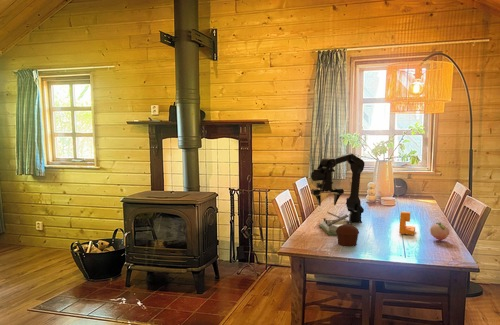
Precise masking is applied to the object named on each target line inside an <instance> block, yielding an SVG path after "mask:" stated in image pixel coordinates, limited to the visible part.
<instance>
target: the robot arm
mask: <svg viewBox="0 0 500 325" xmlns="http://www.w3.org/2000/svg"><path fill="white" fill-rule="evenodd" d="M346 162H347V163H348V164H349V166H350V168H349V169H350V171H351V172H352V174H351V184H350V195H349V197H347V198H346V199H345V200H346V202H345V206H346V208H347V212H349V214H348V216H349V217H348V221H349V222H350V223H352V224H355V223H363V221H362V214H363V213H364V211H365V209H364V207H363V206H362V204H361V202H362V201H361V199H360V197H359V195H360V194H359V193H360V182H361V174H362V172H363V170H364V168H365V161H364V160H363V159H362V158H360V157H359V156H356V154H354V153H352V152H347V153H345V154H341V155H338V156H334V157H326V158H325V157H324V158H322V159H321V161H320V162H319V165H318V167H317V168H316V169H315V168H314V169H312V170H313V171H312V172H311V174H310V178H311V180H312V181H313V182H316V188H311V189H310V194H311V195H313V196H314V197H316V201H317V204H318V206H319V207H321V205H322V204H321V202H322V200H321V199H322V196H321V194H330V193H333V205H334V206H336V205H337V202H338V200H339V198H340V197H341V196H343V195H344V193H345V189H344V188H341V187H334V189H333V184H334V181H333V173H335V172H336V170H335V169H334V168H335V167H337V165H338V164H343V163H346ZM318 181H319V182H318ZM320 181H321V182H320Z"/></svg>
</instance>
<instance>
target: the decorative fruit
mask: <svg viewBox="0 0 500 325" xmlns="http://www.w3.org/2000/svg"><path fill="white" fill-rule="evenodd" d="M429 230H430V231H429V232H430V235H431V236H432V237H433V238H435V239H437V240H438V241H439V242H440V241H444V240H446V239H447V238H448V237H449V235H450V233H451V232H450V228H448V227H447V226H446V225H444V224H442V222H441V221H439V222H436V223H435V224H432V225H431V227H430V229H429Z"/></svg>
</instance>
